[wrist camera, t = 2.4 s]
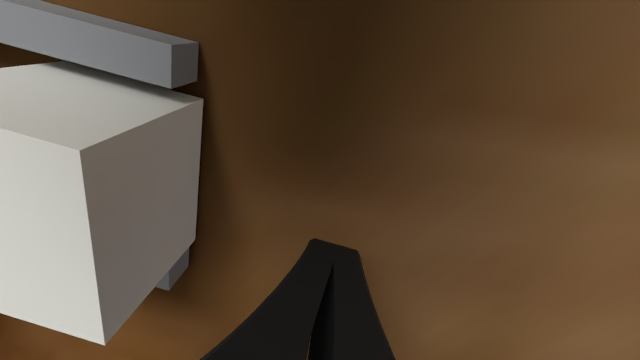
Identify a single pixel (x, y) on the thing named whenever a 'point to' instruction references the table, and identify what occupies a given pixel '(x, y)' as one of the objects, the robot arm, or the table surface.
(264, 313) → the robot arm
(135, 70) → the forklift
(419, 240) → the table surface
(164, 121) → the white block
